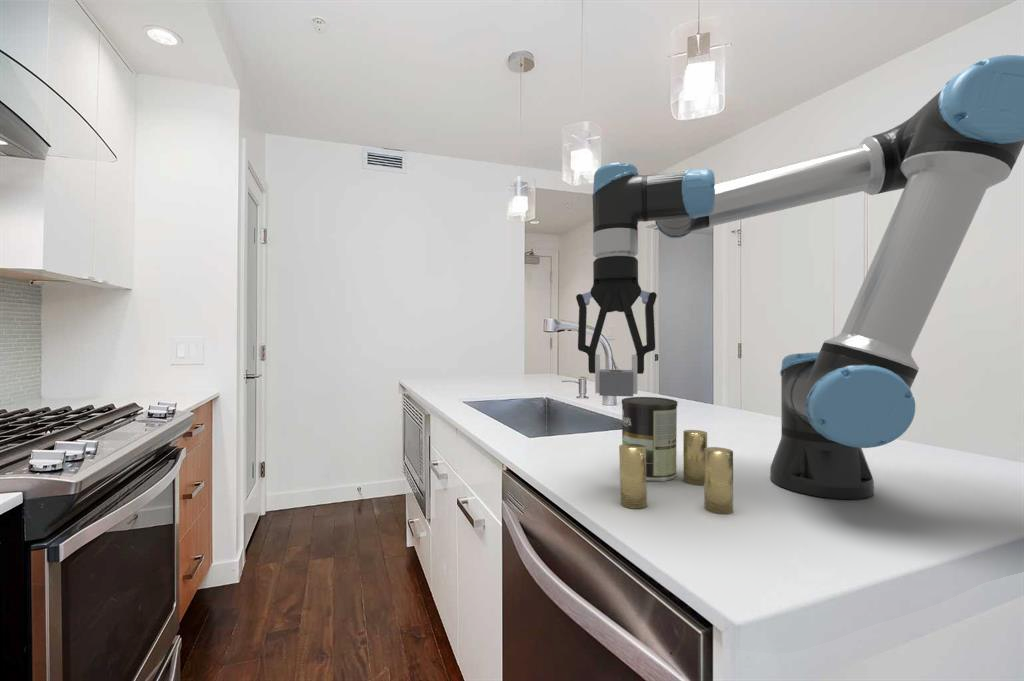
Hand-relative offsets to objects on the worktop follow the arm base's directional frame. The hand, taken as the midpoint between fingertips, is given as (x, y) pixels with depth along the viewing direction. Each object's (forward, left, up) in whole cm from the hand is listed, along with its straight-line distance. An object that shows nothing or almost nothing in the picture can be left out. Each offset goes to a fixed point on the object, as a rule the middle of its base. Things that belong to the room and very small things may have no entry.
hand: (616, 392), depth 80 cm
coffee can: (-6, -11, -17) cm, 21 cm away
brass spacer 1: (-3, +7, -17) cm, 18 cm away
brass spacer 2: (-14, -7, -17) cm, 23 cm away
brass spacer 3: (-15, +7, -17) cm, 23 cm away
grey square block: (0, 0, 0) cm, 0 cm away
